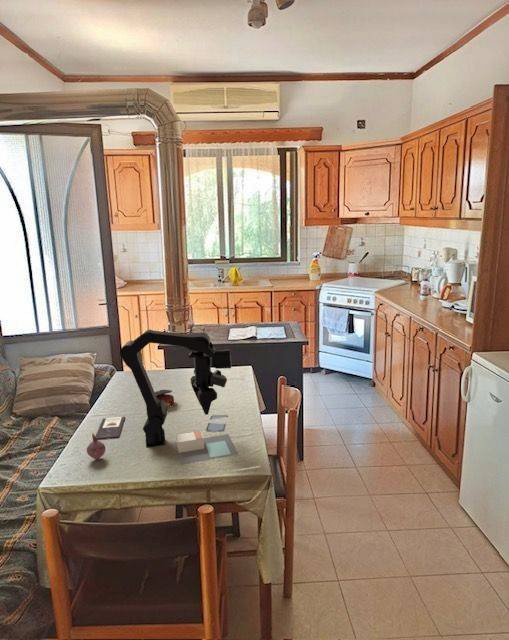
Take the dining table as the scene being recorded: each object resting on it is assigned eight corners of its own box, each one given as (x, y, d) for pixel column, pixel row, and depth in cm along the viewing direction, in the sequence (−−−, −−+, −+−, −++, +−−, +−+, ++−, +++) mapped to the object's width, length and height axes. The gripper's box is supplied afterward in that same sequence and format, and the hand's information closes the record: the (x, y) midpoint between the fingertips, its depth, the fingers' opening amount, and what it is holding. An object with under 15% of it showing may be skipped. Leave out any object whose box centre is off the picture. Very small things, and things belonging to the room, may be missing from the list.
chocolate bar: (94, 438, 176) (102, 418, 194) (94, 441, 177) (103, 420, 194) (118, 436, 177) (125, 416, 195) (119, 438, 178) (125, 418, 195)
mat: (180, 465, 156) (180, 464, 156) (175, 443, 171) (174, 442, 171) (238, 455, 161) (238, 453, 161) (228, 435, 176) (228, 433, 176)
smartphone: (228, 415, 193) (224, 431, 178) (228, 417, 193) (224, 433, 178) (211, 415, 193) (204, 431, 179) (211, 417, 194) (205, 433, 179)
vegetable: (90, 455, 165) (87, 429, 163) (108, 454, 165) (105, 428, 163) (85, 464, 159) (82, 437, 157) (104, 463, 159) (101, 436, 157)
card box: (178, 452, 163) (178, 441, 163) (176, 444, 169) (176, 434, 168) (204, 448, 166) (203, 437, 165) (201, 440, 171) (200, 430, 171)
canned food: (153, 418, 205) (141, 399, 203) (163, 406, 214) (151, 388, 212) (173, 408, 201) (161, 390, 199) (182, 397, 210) (170, 379, 208)
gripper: (231, 374, 160) (232, 416, 163) (218, 358, 177) (219, 397, 181) (198, 378, 156) (200, 421, 160) (189, 361, 174) (191, 400, 177)
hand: (204, 409), depth 170 cm, fingers open, 9 cm apart
